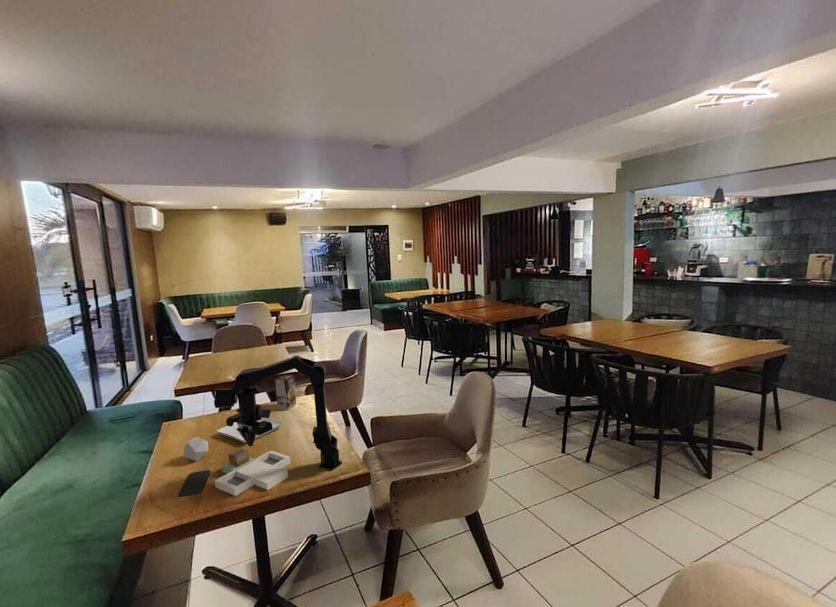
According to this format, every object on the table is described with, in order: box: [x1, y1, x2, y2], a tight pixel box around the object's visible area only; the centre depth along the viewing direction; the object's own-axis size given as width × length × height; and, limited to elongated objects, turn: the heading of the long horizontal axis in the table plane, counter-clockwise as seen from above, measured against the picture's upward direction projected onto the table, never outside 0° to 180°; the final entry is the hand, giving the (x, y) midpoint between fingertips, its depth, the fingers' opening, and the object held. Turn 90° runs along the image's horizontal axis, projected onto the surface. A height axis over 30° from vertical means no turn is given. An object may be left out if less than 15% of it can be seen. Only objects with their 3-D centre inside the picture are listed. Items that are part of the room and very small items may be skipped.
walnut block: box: [227, 448, 250, 467], centre depth 153 cm, size 5×5×4 cm
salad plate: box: [216, 417, 284, 444], centre depth 185 cm, size 21×21×3 cm
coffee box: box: [275, 374, 297, 411], centre depth 214 cm, size 9×6×16 cm
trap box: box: [214, 450, 292, 497], centre depth 149 cm, size 25×24×2 cm
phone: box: [177, 469, 211, 498], centre depth 145 cm, size 7×1×15 cm
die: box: [183, 436, 209, 462], centre depth 162 cm, size 8×9×10 cm
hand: (250, 446), depth 148 cm, fingers closed
